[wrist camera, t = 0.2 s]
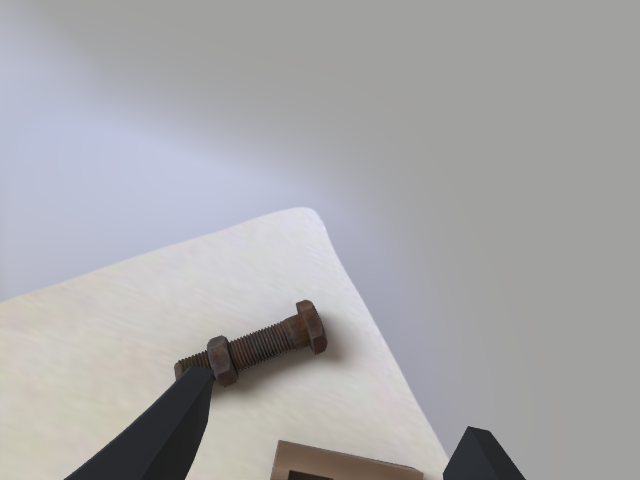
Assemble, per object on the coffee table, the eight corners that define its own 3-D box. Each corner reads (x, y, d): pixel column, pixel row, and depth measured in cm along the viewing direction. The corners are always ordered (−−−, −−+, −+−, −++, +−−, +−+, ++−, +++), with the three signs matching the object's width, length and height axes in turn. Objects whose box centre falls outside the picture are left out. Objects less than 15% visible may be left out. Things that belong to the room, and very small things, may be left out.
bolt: (185, 371, 41) (313, 322, 44) (190, 414, 37) (329, 356, 40) (165, 341, 37) (307, 289, 40) (169, 385, 33) (324, 324, 36)
